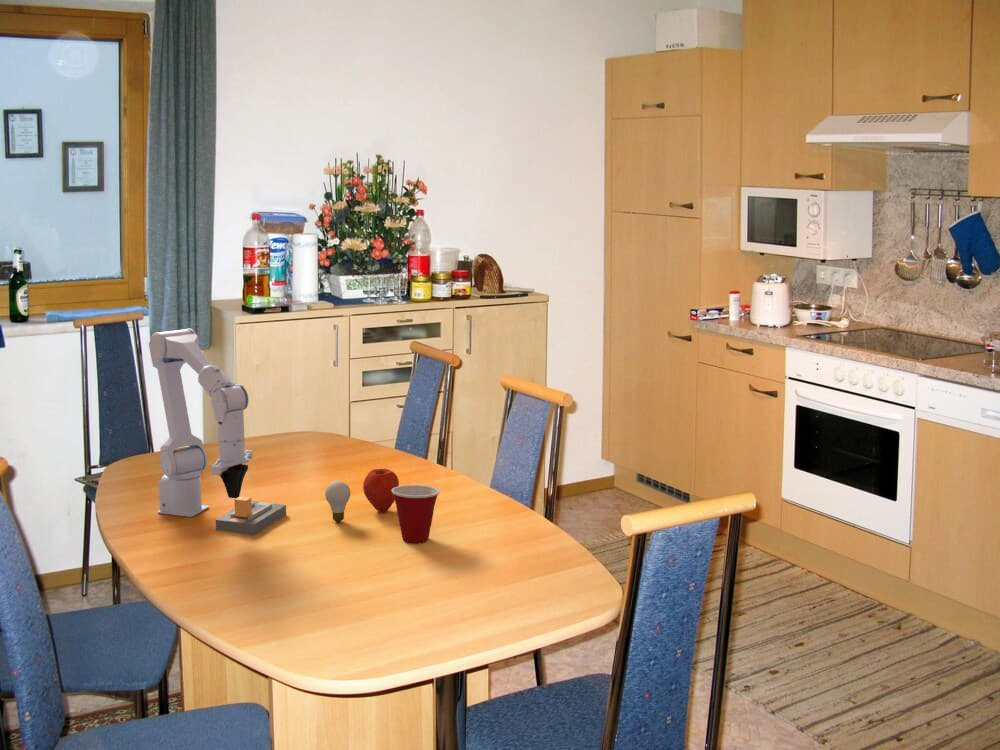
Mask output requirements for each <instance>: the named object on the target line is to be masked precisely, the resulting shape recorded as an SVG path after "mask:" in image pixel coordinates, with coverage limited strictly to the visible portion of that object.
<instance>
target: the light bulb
mask: <svg viewBox="0 0 1000 750" xmlns="http://www.w3.org/2000/svg"><path fill="white" fill-rule="evenodd" d="M324 491H325V492H324V495H325V499H326V501H327V503H328V504H329V506H330V509H331V513H332V520H333V521H334V522H336V523H340V522H342V521H343V520H345V510H346V506H347V503H348V502H349V500H350V497H351V488H350V486H349V485H348V484H347V483H345V482H344V481H342V480H333V481H331V482H330V483H329V484H328V485H327V487H326V488H325V490H324Z"/></svg>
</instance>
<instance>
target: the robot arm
mask: <svg viewBox="0 0 1000 750" xmlns="http://www.w3.org/2000/svg"><path fill="white" fill-rule="evenodd" d="M148 348H149V354H150V358H151V362H152V363H151V364H152V367H153V368H156V369H157V374H158V381H159V386H160V390H161V396H162V403H163V407H164V412H165V413H164V414H165V419H166V425H167V430H168V435H169V437H168V439H166V441H165V442H164V443H163V444H162V445H161V446H160V448H159V449H160V451H159V452H160V460H159V461H160V469H161V472H162V473H163V475H162V476H161V478H160V480H159V482H158V483H159V484H158V498H159V501H158V502H159V510H158V511H157V513H158V514H165V515H172V516H181V517H188V518H193V517H195V516H197V515H198V514H199V513H202V512H204V511H205V510H207V509H209V508H210V506H209V505H206V504H202V500H203V499H202V481H201V475H204V471H205V470H206V469H207V466H208V463H209V461H208V460H209V458H208V454H207V452H206V449H205V447H204V444H203V440H202V439H201V438H199V437H198V436H195V435H194V434H192V429H191V423H190V419H189V413H188V407H187V401H186V396H185V391H184V385H183V380H182V374H181V369H182V367H183V366H184V365H185V364H187V365H188V366H189V367H190V368H191V369H192V370H193V371H195V373H196V374H197V375H198V377H197V380H198V383H199V385H200V386H201V387H202V388H203V390H204V391H205V392H206V393H207V395H208V396H209V397H210V398H211V399H210V403H211V406H212V409H213V411H214V418H215V420H216V421H217V434H218V435H217V436H218V459H217V460H216V461H215V463H214V464H212V465H211V466H210V468H211V470H210V471H211V473H210V474H211V475H216V476H219V477H220V479H221V481H222V482H223V485H224V488H225V490H226V494H227V497H228V498H229V499H236V498H238V497H240V496H241V489H242V486H243V482H244V478H245V476H246V474H247V472H248V469H249V464H248V463H250V460H252V459H253V450H251V449H246V447H245V446H246V445H245V418H244V417H245V416H244V415H245V414H244V410H246V409H247V408H248V406H249V394H248V392H247V391H248V390H246V388H245V387H244V385H243V384H237V383H236V382H235V383H234V382H232V380H231V379H230V378H229V377H228V376H227V375H226V373H225V372H224V371H223V370H222V369H221V368H220V367H219V366H218V365H214V364H213V365H212V364H211V363H210V361H209V360H208V358H207V357H206V355H205V354H204V353H203V351H202V350H201V348H200V339H199V336H198V334H197V333H196V332H195V330H194V329H192V328H190V327H189V328H184V329H178V330H168V331H160V332H159V331H156V332H154V333H153V334H152V335H151V337H150V340H149V341H148ZM185 447H186V448H185ZM179 448H181V449H179Z"/></svg>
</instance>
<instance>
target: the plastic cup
mask: <svg viewBox="0 0 1000 750" xmlns="http://www.w3.org/2000/svg"><path fill="white" fill-rule="evenodd" d="M391 491H392V493H393V495H394V499H395V501H394V503H395V507H396V512H397V518H398V524H399V527H400V533H401V537H402V541H403V542H404V543H405V544H409V543H410V545H420V544H419V543H421V544H424V543H423V542H425V543H426V541H427V542H428V540H429V537H430V532H431V526H432V523H433V517H434V511H435V505H436V501H437V499H438V496H439V494H440V492H441V491H440V489H439V488H437V487H434V486H431V485H429V486H428V485H421V484H420V485H419V484H408V485H407V484H406V485H399V486H398V487H395V488H393V489H392V490H391Z"/></svg>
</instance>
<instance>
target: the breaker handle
mask: <svg viewBox="0 0 1000 750" xmlns="http://www.w3.org/2000/svg"><path fill="white" fill-rule="evenodd" d="M233 499H234V509H235V516H239V517H248V516H249V515H251V514H252V501H253V500H252V497H247V496H241V495H239V497H238V498H233Z"/></svg>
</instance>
